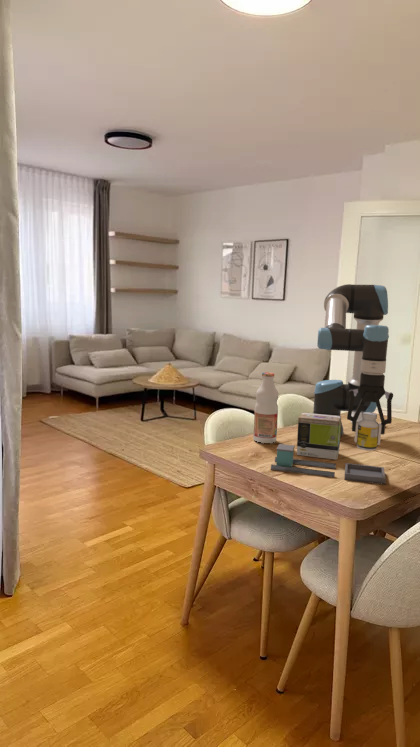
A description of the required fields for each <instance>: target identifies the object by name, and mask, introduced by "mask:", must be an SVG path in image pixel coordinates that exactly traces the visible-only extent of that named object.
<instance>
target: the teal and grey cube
mask: <svg viewBox="0 0 420 747" xmlns="http://www.w3.org/2000/svg"><path fill="white" fill-rule="evenodd" d="M295 447H296V446H295V445H292V444H283V443H279V444H278V445H277V448H276V450H275V451H276V457H277V462H276V463H275V465H281V466H289V467H293V465H294V464H293V459H294V455H295V454H294V451H295V450H294V449H295Z"/></svg>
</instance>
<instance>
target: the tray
mask: <svg viewBox="0 0 420 747" xmlns="http://www.w3.org/2000/svg"><path fill="white" fill-rule="evenodd" d="M344 466H345V467H344V478H343V479H344V481H345V480H346V481H347V480H348V481H351V482H352V481H354V482H360V483H369V484H378V485H385V486H386V481H387V480H386V479H387V478H386V473H385V467H383V466H377V465H368V464H359V463H348V462H345V465H344Z"/></svg>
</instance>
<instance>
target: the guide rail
mask: <svg viewBox="0 0 420 747" xmlns="http://www.w3.org/2000/svg"><path fill="white" fill-rule="evenodd" d="M274 462H277V456H275V457H274ZM293 465H301V466H308V467H315V468H316V467H317V468H325V469H335V470H336V465H337V464H336V463H333V462H332V463H331V462H323V461H315V460H308V459H307V460H306V459H299V458H298V459H297V458H293ZM270 470H271V471H273V470H274V471H280V472H288V473H296V474H304V475H312V476H320V477H328V478H335V476H336V473H335V471H330V470H321V469H312V468H306V467H305V468H304V467H297V466H296V467H295V466H292V467H289V466H281V465H276V464H271V465H270Z"/></svg>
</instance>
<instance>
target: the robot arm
mask: <svg viewBox="0 0 420 747" xmlns="http://www.w3.org/2000/svg"><path fill="white" fill-rule="evenodd" d="M387 290H388V289H387V287H385V286H384V285H379V284H349V283H348V284H343V285H340V286H337V287H335V288H334V289H332V290H330V292H329V293H328V294H327V295H326V296H325V299H324V302H323V308H324V311H325V316H324V317H325V319H324V327H320V328H319V329H318V330H317V348H318V349H320V350H327V351H347V352H354V356H353V365H352V366H353V368H352V377H350V379H348V382H347V383H348V384H347V383H346V384H345V383H344V382H343V380H341V379H325V380H320V381H318V382H316V384H315V386H314V392H313V394H314V399H313V400H314V401H313V412H312V413H313V414H324V415H335V416H341V415H342V412H347V417H346V419H347V420H348V421H350V422H351V421H352V423H351V431H352V432H354V443H357V436H358V421H357V419H358V417H359V414H360V412H361V413H364V412H369V413H375V411H376V410H377V412H378V415H379V419H380V423H379V422H378V424H379V431H378V442H377V446H378V445H379V446H380V445H381V437H382V435H385V432H386V426H387V425H390V424H392V418H393V417H392V400H393V397H394V393H393V392H389V391H386V390H385V380H386V379H385V378H386V376H385V373H386V368H387V367H386V366H387V355H388V353H387V352H388V342H389V337H390V336H389V332H390V331H389V330H390V329H389V327H388V326H387V325H383V324H382V325H380V323H381V321H383V320H384V316H387V315H388V313H389V300H388V299H389V298H388V291H387ZM347 314H353V319H354V320H355V321H356V328H347V326H346V325H347V324H346V322H347ZM384 396H385V399H386V414H387V415H386V419H385V417H384V413H383V408H382V405H381V402H380V400H381V399H382V397H384ZM352 412H355V415H354V417H352V416H351V415H352ZM343 435H344V426H343V422H342V421H341V431H340V437H342V436H343Z"/></svg>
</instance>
